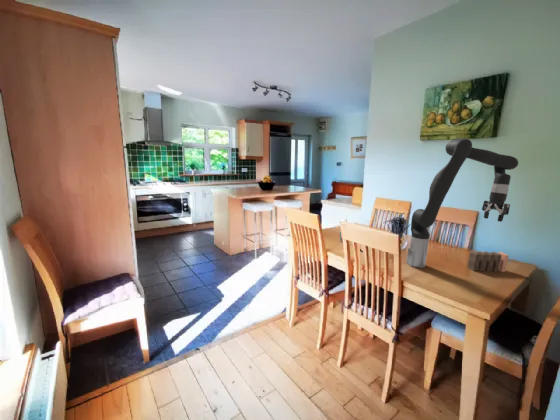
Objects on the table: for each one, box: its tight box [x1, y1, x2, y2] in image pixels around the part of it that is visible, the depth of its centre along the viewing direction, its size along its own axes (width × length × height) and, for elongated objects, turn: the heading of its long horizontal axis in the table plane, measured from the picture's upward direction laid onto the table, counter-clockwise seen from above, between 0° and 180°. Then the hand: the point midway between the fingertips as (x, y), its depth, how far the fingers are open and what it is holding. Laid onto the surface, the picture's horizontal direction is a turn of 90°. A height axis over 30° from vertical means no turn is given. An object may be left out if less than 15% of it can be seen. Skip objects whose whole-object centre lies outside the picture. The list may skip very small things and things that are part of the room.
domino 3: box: [483, 251, 494, 273], centre depth 153 cm, size 2×5×10 cm, turn 179°
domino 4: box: [490, 251, 501, 273], centre depth 153 cm, size 2×5×10 cm, turn 179°
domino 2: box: [476, 251, 487, 272], centre depth 153 cm, size 2×5×10 cm, turn 179°
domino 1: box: [467, 250, 480, 272], centre depth 153 cm, size 2×5×10 cm, turn 179°
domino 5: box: [497, 251, 509, 273], centre depth 153 cm, size 2×5×10 cm, turn 179°
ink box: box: [339, 215, 348, 233], centre depth 214 cm, size 8×5×15 cm, turn 168°
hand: (492, 219), depth 155 cm, fingers open, 8 cm apart
